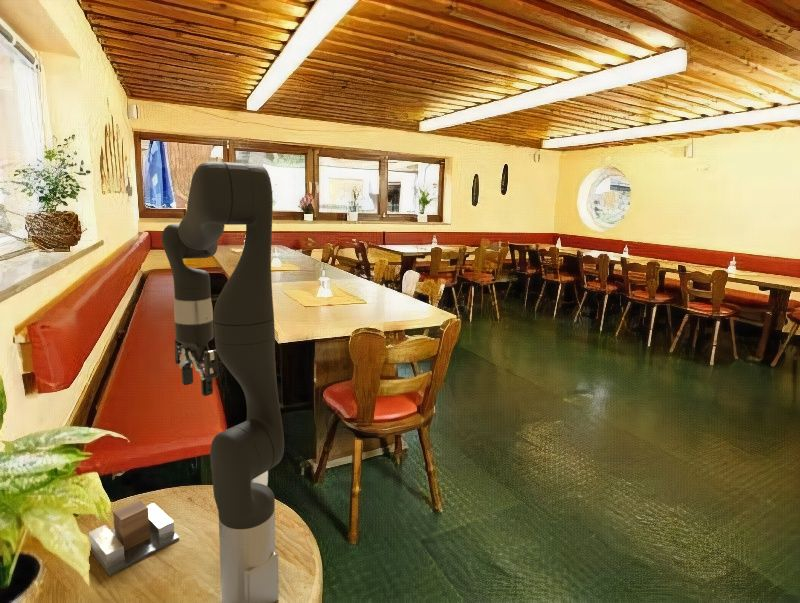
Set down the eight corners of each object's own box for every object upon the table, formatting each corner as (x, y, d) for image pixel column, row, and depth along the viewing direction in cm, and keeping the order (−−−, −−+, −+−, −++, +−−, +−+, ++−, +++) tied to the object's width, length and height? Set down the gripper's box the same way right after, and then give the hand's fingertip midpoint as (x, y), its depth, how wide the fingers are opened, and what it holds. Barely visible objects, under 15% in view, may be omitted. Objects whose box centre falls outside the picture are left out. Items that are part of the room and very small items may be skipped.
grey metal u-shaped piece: (178, 539, 97) (178, 524, 96) (109, 576, 87) (108, 559, 86) (152, 513, 104) (151, 499, 103) (86, 544, 94) (84, 529, 93)
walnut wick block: (150, 537, 96) (147, 507, 94) (124, 551, 92) (121, 520, 91) (141, 528, 98) (139, 499, 97) (115, 541, 94) (112, 511, 93)
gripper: (228, 321, 98) (230, 393, 101) (194, 310, 107) (197, 376, 110) (193, 328, 92) (197, 404, 96) (160, 315, 101) (165, 385, 104)
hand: (197, 389), depth 103 cm, fingers open, 8 cm apart
